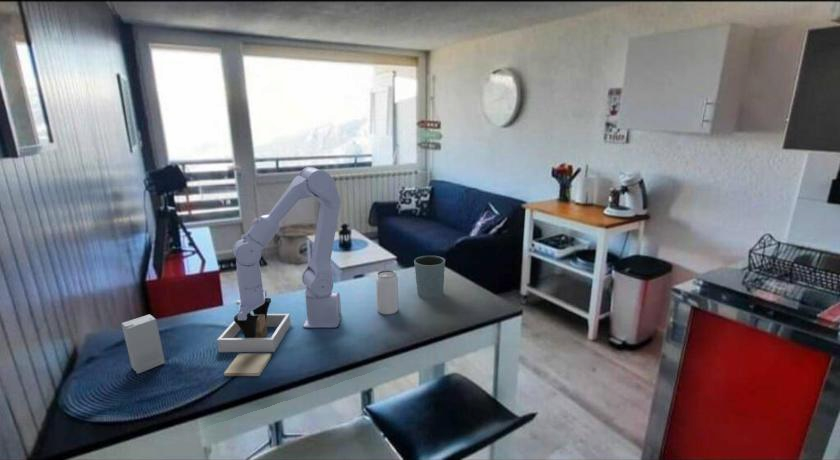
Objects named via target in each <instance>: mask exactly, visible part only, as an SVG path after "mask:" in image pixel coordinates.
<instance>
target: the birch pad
mask: <svg viewBox="0 0 840 460" xmlns="http://www.w3.org/2000/svg"><path fill="white" fill-rule="evenodd" d="M271 357H272V353H238V354H237V355H236V357H235V358H234V359H233V360H232V362H230V364H229V366H227V368H226V370H225V371H224V372H223V375H224V377H259V376H260V375H261V374H262V373H263V371H264V369H265V367H266V366H267V365H268V362H269V361H270V359H271Z"/></svg>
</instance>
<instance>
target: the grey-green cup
mask: <svg viewBox="0 0 840 460" xmlns="http://www.w3.org/2000/svg"><path fill="white" fill-rule="evenodd" d="M413 262H414V263H413V264H414V271H415V272H414V274H415V283H416V292H417V293H416V294H417V296H418V297H419V298H421V299H423V300H438V299H439V298H442V297H443V294H444V286H445V284H444V283H445V268H446V266H445V265H446V259H445V258H444V257H442V256H437V255H422V256H417V257H416V258H415V259H414V260H413Z"/></svg>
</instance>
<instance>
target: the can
mask: <svg viewBox="0 0 840 460" xmlns="http://www.w3.org/2000/svg"><path fill="white" fill-rule="evenodd" d="M375 279H376V280H375V282H376V283H375V287H376V288H375V289H376V309H377V312H378V313H379V314H380V315H386V316H387V315H388V316H389V315H394V314H396V313H397V312H398V310H399V278H398V276H397V272H396V271H394V270H390V269H389V270H388V269H387V270H381V271H379V272H377V276H376V278H375Z"/></svg>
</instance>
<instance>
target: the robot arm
mask: <svg viewBox="0 0 840 460" xmlns="http://www.w3.org/2000/svg"><path fill="white" fill-rule="evenodd" d="M313 196H314V198H315V199H316V200H317V201H318V203H319V204H320V205H319V211H318V212H319V213H318V216H317V224H316V227H315V228H316V229H315V235H314V241H313V247H312V253H311V258H310V259H309V260H308V262H307V265H306V268H305V270H304V271H303V272H302V276H301V281H302V283H303V284H304V286H305V287H306V288H305V289H306V290H305V292H304V295H305V306H306V317H307V318H306V320H305V322H304V323H303V328H305V329H307V328H313V329H315V328H318V329H319V328H323V329H324V328H325V329H326V328H328V329H329V328H337V327H338V326H339V323H340V320H341V318H342V309H341V308H342V307H341V306H342V305H341V295H340V292H337V291H333V289H334V281H333V270H332V266H331V260H332V253H333V248H334V243H335V236H336V230H337V224H338V219H339V213H340V208H341V202H342V201H341V197H340V194H339V192H338V189H337V186H336V180H335V178H333V177H332V175H331V174H330V173H328V171H326V170H323V169H318V168H316V167H313V166H307V167H305V168H303V169H302V170H301V171H300V173H299V174H298V175H296V176H295V177H294V178H293V180H292V181H291V183H290V184H289V186H288V187H287V189H286V190H285V191H284V192H283V194H282V195H281V197H280V198H279V199H278V201H277V202H276V203H275V205H273V207H272V209H271V210H270V211H269V213H267V214H264V215H263V214H262V215H260V216H259V218H256V217H255V218H254V219H253V221H252V222H253V225H251V227H250V228H249V229H248V231H247V232H246V233H245V234H244V233H243V234H242V235H241V236H240V238H241V239H239V240H237V241H236V242H235V243H234V245H233V249H232V251H231V252H232V255H233V256H234V257H235V258H236V260H235V261H236V262H235V266H236V277H237V285H238V292H239V293H238V294H239V299H237V300H236V302H235V303H236V305H237V306H238V305H239V306H238V307H239V308H238V312H236V315H234V317H233V321H235V322H236V323H237V324H238V325H239V327H240V328H241V330H240V331H241V333H242V334H243V336H244V338H255V336H256V322H257V319H258V316H252V314H265V320H266V319H267V314H268V311H269V308H270V304H271V302H272V299H271V298H270V297H267V296H268V295H267V289H264V286H263V279H262V270H261V269H262V268H261V265H260V260H261V258H262V250H264V249H265V248H266V247H267V245H268V244H270V242H271V240H272V239H273V238H274V237H275V236H276V234H277V233H278V232H279V231H280V222H281V220H283V219H284V218H285V216H286V215H287V214H288V213H289V211H291V210H292V208H294V206H295V205H296V204H297V203H298V202H299V201H300V200H302V199H303V200H304V199H307V198H311V197H313ZM252 312H253V313H252Z"/></svg>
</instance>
